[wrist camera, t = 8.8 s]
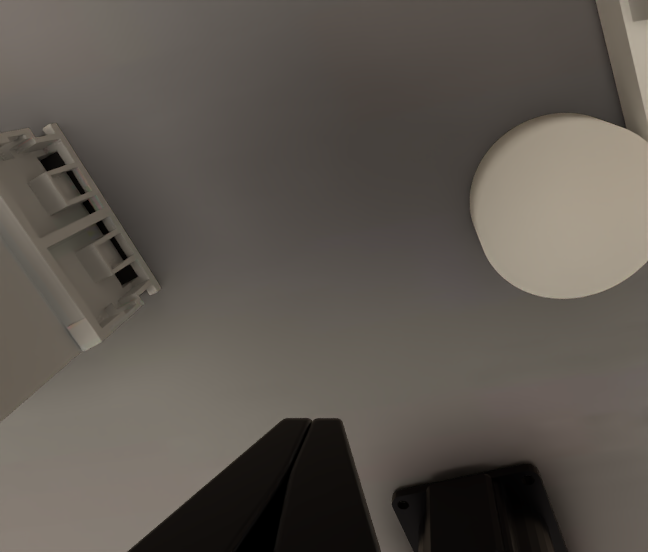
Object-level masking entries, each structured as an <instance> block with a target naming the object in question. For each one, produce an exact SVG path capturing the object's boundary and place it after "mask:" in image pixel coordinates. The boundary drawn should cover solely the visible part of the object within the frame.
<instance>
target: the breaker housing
mask: <svg viewBox="0 0 648 552" xmlns="http://www.w3.org/2000/svg"><path fill="white" fill-rule="evenodd" d="M595 1H596V5H597V9H598V14H599V18H600V22H601V26H602V30H603V34H604V38H605V42H606V46H607V51H608V55H609V59H610V63H611V67H612V71H613V75H614V79H615V83H616V88H617V92H618V96H619V100H620V104H621V108H622V112H623V116H624V120H625V125H626V129H628V130H630V131H631V132H633V133H635V134H637V135H639V136H640V137H641V138H643V139H644V140H645V141H647V142H648V0H595Z"/></svg>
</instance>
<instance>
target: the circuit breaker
mask: <svg viewBox="0 0 648 552" xmlns="http://www.w3.org/2000/svg"><path fill="white" fill-rule="evenodd" d="M43 131H44V132H45V134H46V136H41V137H36V138H35V136H34V135H33V133H32V132H31V130H30V129H29V128H25V129H20V130H14V131H9V132H3V133H0V422H1V421H3V420H4V419H5V418H6V417H7V416H8V415H9V414H11V413H12V412H13V411H14V410H15V409H16V408H17V407H19V406H20V405H21V404H22V403H23V402H24V401H25V400H27V399H28V398H29V397H30V396H31V395H32V394H33V393H35V392H36V391H37V390H38V389H39V388H40V387H41V386H43V385H44V384H45V383H46V382H47V381H48V380H49V379H51V378H52V377H53V376H54V375H55V374H56V373H57V372H59V371H60V370H61V369H62V368H63V367H64V366H65V365H67V364H68V363H69V362H70V361H71V360H72V359H73V358H75V357H76V356H77V355H78V354H79V353H80V352H81V351H86V350H88V349H90V348H92V347H93V346H95V345H97V344H99V343H101V342H103V341H104V340H105V339H106V338H107V337H108V336H109V335H110V334H111V333H113V332H114V331H115V330H116V329H117V328H118V327H119V326H120V325H121V324H123V323H124V322H125V321H126V320H127V319H128V318H129V317H130V316H131V315H133V314H134V313H135V312H136V311H137V310H138V309H139V308H140V307H141V306H143V305H144V303H143V301H142V300H141V298H140V297H139V295H140V294H142V293H143V292H144V291H145V290H147V292H148V293H149V295H152V294H154V293H156V292H158V291H159V290H160V289H161V287H160V285H159V283H158V282H157V280H156V279H155V277H154V276H153V274H152V272H151V271H150V269H149V268H148V266H147V265H146V263H145V261H144V260H143V258H142V257H141V255H140V254H139V252H138V250H137V249H136V247H135V246H134V244H133V243H132V241H131V239H130V238H129V236H128V235H127V233H126V232H125V230H124V228H123V227H122V225H121V224H120V222H119V221H118V219H117V218H116V216H115V214H114V213H113V211H112V210H111V208H110V207H109V205H108V203H107V202H106V200H105V199H104V197H103V196H102V194H101V192H100V191H99V189H98V188H97V186H96V185H95V183H94V181H93V180H92V178H91V177H90V175H89V174H88V172H87V170H86V169H85V167H84V166H83V164H82V163H81V161H80V159H79V158H78V156H77V155H76V153H75V152H74V150H73V148H72V147H71V145H70V144H69V142H68V141H67V139H66V137H65V136H64V134H63V133H62V131H61V130H60V128H59V127H58V125H57V123H52V124H49V125H47V126H46V127H44V128H43ZM55 152H58V153H59V155H60V156H61V158H62V159H63V161H64V162H65V164H66V165H64V166H62V167H59V168H56V169H53V170H50V171H46V169H45V168H44V166H43V165H42V163H41V162H40V160H42V159H44V158H46V157H48V156H49V155H51V154H53V153H55ZM67 171H72V172H73V174H74V175H75V177H76V178H77V180H78V181H79V183H80V184H81V186H82V188H83V189H84V191H85V192H86V193H85V194H82V195H81V194H80V193H79V191H78V190H77V188H76V187H75V185H74V183H73V182H72V180H71V179H70V177H69V176H68V174H67V173H66V172H67ZM86 200H89V202H90V203H91V205H92V206H93V208H94V209H95V211H96V212H94V213H92V214H89V212H88V211H87V209H86V208H85V206H84V205H83V202H85V201H86ZM100 220H102V222H103V223H104V225H105V226H106V228H107V230H108V231H109V233H108V234H106V235H103V234H102V232H101V231H100V229H99V228H98V226H97V225H96V223H97V222H99V221H100ZM112 237H115V239H116V240H117V242H118V243H119V245H120V246H121V248H122V250H123V251H124V253H125V254H126V256H127V257H128V258H127V259H126V260H123V259H122V257H121V256H120V254H119V253H118V251H117V250H116V248H115V247H114V245H113V243H112V242H111V240H110V238H112ZM129 264H130V265H131V266H132V268H133V269H134V271H135V272H136V274H137V275H138V277H136V278H134V279H132V280H131V281H129V282H127V283H125V284H123V285H121V283H120V282H119V280H118V279H117V277H116V276H115V273H116V272H118V271H119V270H121V269H122V268H124V267H125V266H127V265H129Z"/></svg>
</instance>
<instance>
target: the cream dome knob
mask: <svg viewBox="0 0 648 552" xmlns="http://www.w3.org/2000/svg"><path fill="white" fill-rule="evenodd" d="M470 214H471V218H472V222H473V225H474V228H475V230H476V233H477V235H478V238H479V240H480V243H481V245H482V248H483V250H484V253H485V255H486V257H487V259H488V260H489V262H490V264H491V265H492V266H493V268H494V269H495V270H496V271H497V272H498V273H499V274H500V275H501V276H502V277H503V278H504V279H505V280H506V281H508V282H509V283H511V284H512V285H514V286H515V287H517V288H519V289H521V290H523V291H525V292H528V293H531V294H533V295H537V296H541V297H546V298H555V299H571V298H579V297H585V296H589V295H593V294H596V293H599V292H602V291H605V290H607V289H609V288H611V287H614V286H616V285H618V284H619V283H621V282H622V281H624V280H626V279H627V278H629V277H630V276H631V275H633V274H634V273H635V272H637V271H638V270H639V269H640V268H641V267H642V266H643V265H644V264H645V263H646V262H647V261H648V142H647V141H645V140H644V139H643V138H641V137H640V136H639V135H637V134H635V133H633V132H631V131H630V130H628V129H625V128H622V127H620V126H617V125H614V124H611V123H608V122H606V121H603V120H600V119H597V118H594V117H592V116H588V115H583V114H578V113H554V114H548V115H543V116H540V117H536V118H533V119H530V120H528V121H526V122H524V123H521V124H519V125H518V126H516V127H514V128H513V129H511V130H510V131H508V132H507V133H506V134H504V135H503V136H502V137H501V138H499V139H498V140H497V141H496V142H495V143H494V144H493V145H492V147H491V148H490V149H489V150H488V151H487V153H486V154H485V155H484V157H483V159H482V160H481V162H480V164H479V166H478V168H477V170H476V172H475V175H474V178H473V181H472V184H471V190H470Z"/></svg>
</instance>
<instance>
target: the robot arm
mask: <svg viewBox="0 0 648 552" xmlns="http://www.w3.org/2000/svg"><path fill="white" fill-rule="evenodd" d="M526 475H530V476H531V477H529V478H524V476H526ZM400 501H406V503H402V502H400ZM392 506H393V509H394V511H395V513H396V515H397V517H398V519H399V521H400V524H401V526H402V528H403V530H404V532H405V534H406V536H407V538H408V540H409V542H410V544H411V546H412V549H413V551H414V552H568V551H567V548H566V545H565V543H564V540H563V537H562V534H561V532H560V529H559V526H558V523H557V521H556V518H555V515H554V512H553V510H552V507H551V504H550V501H549V499H548V496H547V493H546V490H545V488H544V485H543V482H542V479H541V477H540V474H539V471H538V470H537V468H536V467H534V466H533V465H530V464H522V465H517V466H512V467H508V468H503V469H498V470H493V471H488V472H484V473H479V474H474V475H469V476H464V477H459V478H455V479H450V480H445V481H440V482H435V483H431V484H426V485H421V486H416V487H411V488H407V489H402V490H398V491H396V492H395V493H394V494H393V497H392ZM128 552H381V550H380V546H379V543H378V540H377V536H376V533H375V530H374V526H373V523H372V520H371V516H370V513H369V509H368V506H367V503H366V499H365V496H364V493H363V489H362V486H361V483H360V479H359V476H358V472H357V469H356V466H355V462H354V459H353V456H352V452H351V449H350V446H349V442H348V439H347V435H346V432H345V429H344V425H343V422H342V421H341V420H340V419H338V418H317V419H315V420H313V421H312V420H311V419H309V418H286V419H283V420H282V421H280V422H279V423H278V424H277V425H276V426H275V427H273V428H272V429H271V430H270V431H269V432H268V433H266V434H265V435H264V436H263V437H262V438H260V439H259V440H258V441H257V442H256V443H255V444H253V445H252V446H251V447H250V448H249V449H248V450H246V451H245V452H244V453H243V454H242V455H240V456H239V457H238V458H237V459H236V460H235V461H233V462H232V463H231V464H230V465H229V466H228V467H226V468H225V469H224V470H223V471H222V472H221V473H219V474H218V475H217V476H216V477H215V478H213V479H212V480H211V481H210V482H209V483H208V484H206V485H205V486H204V487H203V488H202V489H201V490H199V491H198V492H197V493H196V494H195V495H193V496H192V497H191V498H190V499H189V500H188V501H186V502H185V503H184V504H183V505H182V506H181V507H179V508H178V509H177V510H176V511H175V512H173V513H172V514H171V515H170V516H169V517H168V518H166V519H165V520H164V521H163V522H162V523H161V524H159V525H158V526H157V527H156V528H155V529H153V530H152V531H151V532H150V533H149V534H148V535H146V536H145V537H144V538H143V539H142V540H141V541H139V542H138V543H137V544H136V545H135V546H133V547H132V548H131V549H130V550H129V551H128Z"/></svg>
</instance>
